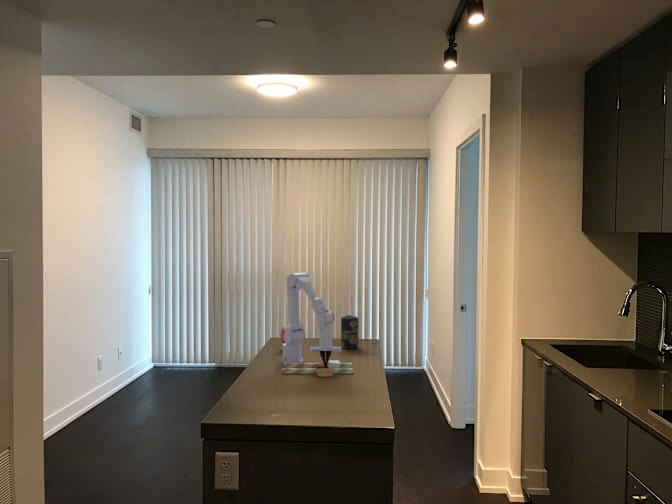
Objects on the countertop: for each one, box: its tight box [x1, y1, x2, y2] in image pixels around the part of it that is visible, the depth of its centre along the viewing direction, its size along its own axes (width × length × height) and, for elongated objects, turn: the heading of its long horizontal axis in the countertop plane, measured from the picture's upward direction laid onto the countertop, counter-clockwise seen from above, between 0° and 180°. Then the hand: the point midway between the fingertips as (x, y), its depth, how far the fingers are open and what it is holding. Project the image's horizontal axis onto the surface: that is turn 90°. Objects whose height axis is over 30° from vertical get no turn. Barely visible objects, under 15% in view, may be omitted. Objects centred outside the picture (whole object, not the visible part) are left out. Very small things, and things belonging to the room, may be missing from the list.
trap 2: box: [316, 369, 334, 378], centre depth 219 cm, size 7×4×2 cm, turn 90°
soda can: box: [279, 326, 286, 351], centre depth 267 cm, size 7×7×12 cm
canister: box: [340, 314, 359, 349], centre depth 272 cm, size 10×10×18 cm
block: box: [328, 359, 341, 370], centre depth 227 cm, size 5×5×4 cm
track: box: [281, 362, 354, 375], centre depth 227 cm, size 32×10×2 cm, turn 90°
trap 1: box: [317, 361, 329, 368], centre depth 235 cm, size 7×4×2 cm, turn 90°
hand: (325, 367), depth 227 cm, fingers closed
